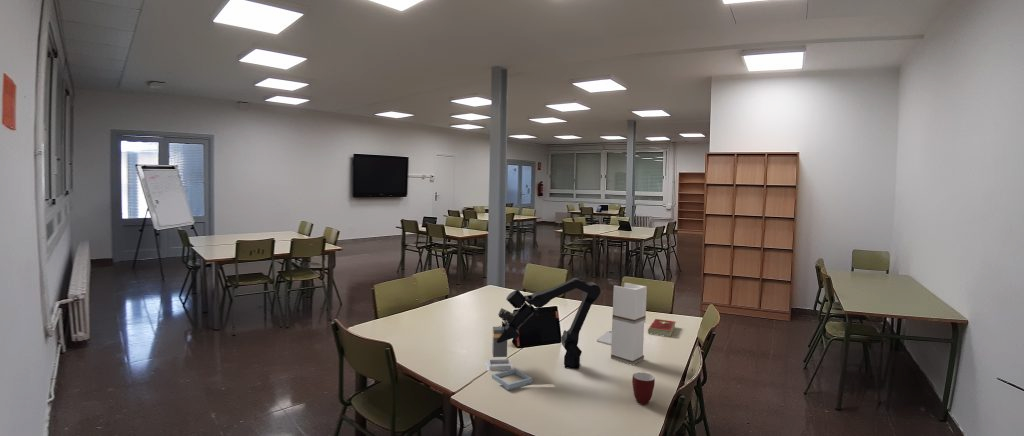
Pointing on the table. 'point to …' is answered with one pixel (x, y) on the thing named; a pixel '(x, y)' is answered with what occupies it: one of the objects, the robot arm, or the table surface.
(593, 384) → the table surface
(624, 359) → the banded white pillar
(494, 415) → the table surface
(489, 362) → the dock
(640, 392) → the mug
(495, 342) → the block
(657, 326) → the hardcover book
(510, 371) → the light blue square frame
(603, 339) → the gadget
